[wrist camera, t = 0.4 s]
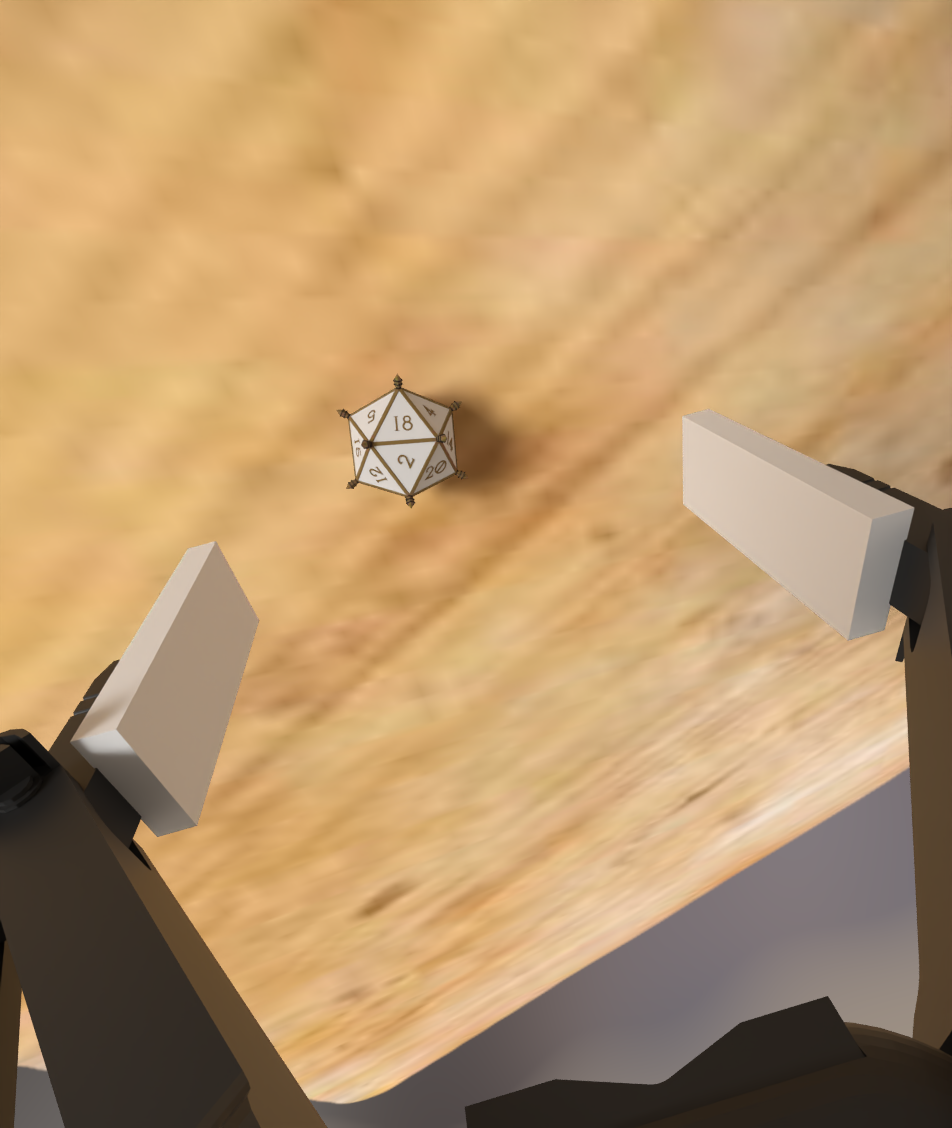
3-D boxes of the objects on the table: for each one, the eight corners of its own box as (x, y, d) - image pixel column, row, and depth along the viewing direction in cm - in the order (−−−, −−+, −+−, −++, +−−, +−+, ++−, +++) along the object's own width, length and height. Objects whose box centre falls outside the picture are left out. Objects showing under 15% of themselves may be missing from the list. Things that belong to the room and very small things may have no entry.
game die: (412, 394, 43) (495, 369, 36) (422, 500, 45) (505, 499, 37) (304, 391, 38) (375, 361, 30) (320, 513, 39) (392, 514, 31)
